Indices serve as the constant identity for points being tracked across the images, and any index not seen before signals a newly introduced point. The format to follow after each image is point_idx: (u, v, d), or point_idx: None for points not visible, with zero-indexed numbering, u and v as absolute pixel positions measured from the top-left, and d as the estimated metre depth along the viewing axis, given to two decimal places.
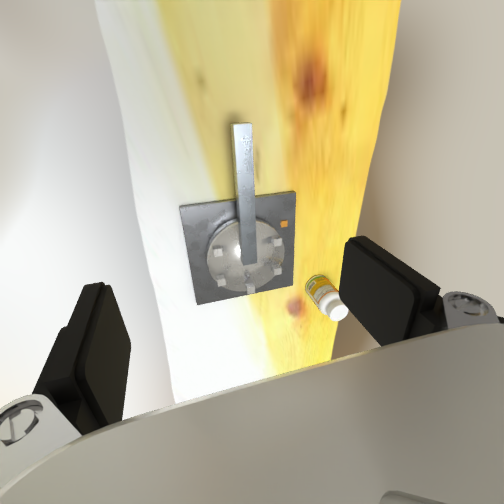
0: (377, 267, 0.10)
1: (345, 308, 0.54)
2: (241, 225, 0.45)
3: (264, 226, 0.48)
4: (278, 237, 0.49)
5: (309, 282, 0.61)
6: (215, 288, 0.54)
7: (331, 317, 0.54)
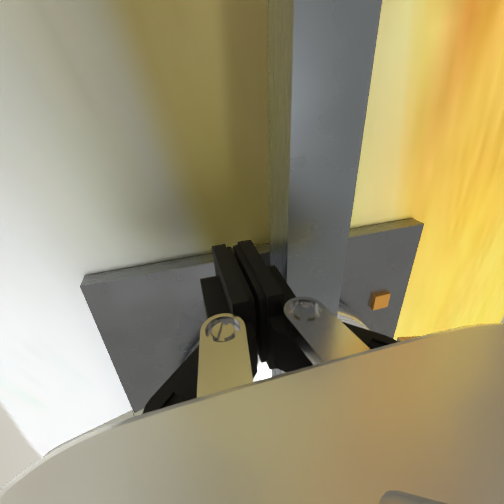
0: (245, 272, 0.10)
1: None
2: None
3: None
4: None
5: None
6: None
7: None
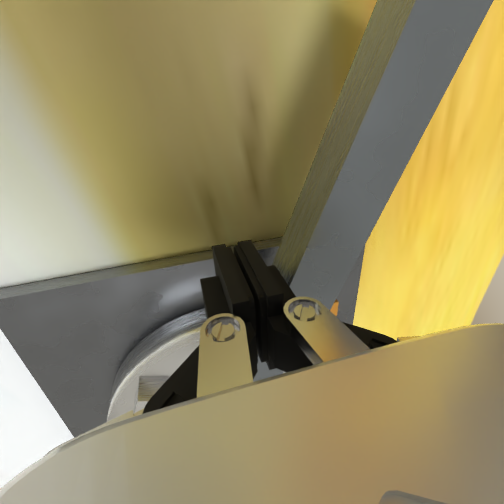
0: (245, 272, 0.10)
1: None
2: None
3: None
4: None
5: None
6: None
7: None
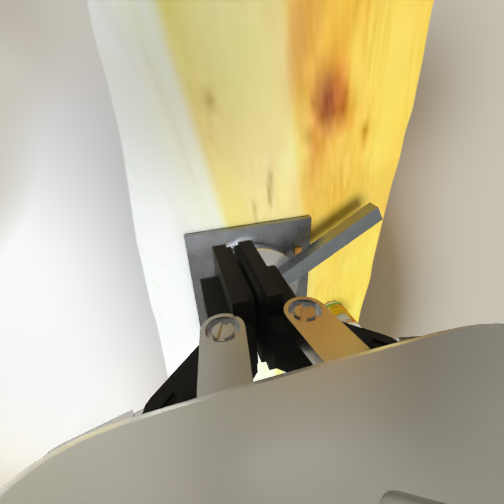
0: (245, 271, 0.10)
1: None
2: (298, 264, 0.43)
3: (296, 281, 0.47)
4: None
5: None
6: None
7: None
